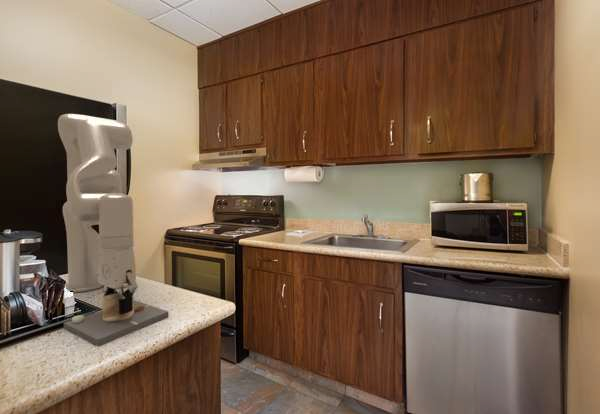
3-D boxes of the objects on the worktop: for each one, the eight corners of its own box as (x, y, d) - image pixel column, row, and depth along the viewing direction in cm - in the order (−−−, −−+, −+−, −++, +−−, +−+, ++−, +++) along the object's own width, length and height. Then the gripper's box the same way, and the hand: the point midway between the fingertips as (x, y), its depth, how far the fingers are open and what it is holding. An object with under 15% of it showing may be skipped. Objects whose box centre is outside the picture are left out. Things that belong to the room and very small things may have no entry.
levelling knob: (109, 325, 73) (109, 300, 73) (98, 317, 77) (97, 294, 77) (150, 311, 81) (149, 289, 81) (137, 305, 85) (137, 284, 85)
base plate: (63, 328, 74) (63, 318, 74) (134, 304, 90) (134, 296, 90) (98, 346, 66) (98, 334, 66) (168, 316, 82) (168, 307, 82)
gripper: (83, 240, 78) (85, 307, 79) (121, 248, 69) (122, 323, 70) (113, 237, 84) (114, 299, 85) (151, 243, 76) (152, 312, 77)
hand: (118, 309), depth 78 cm, fingers open, 6 cm apart
